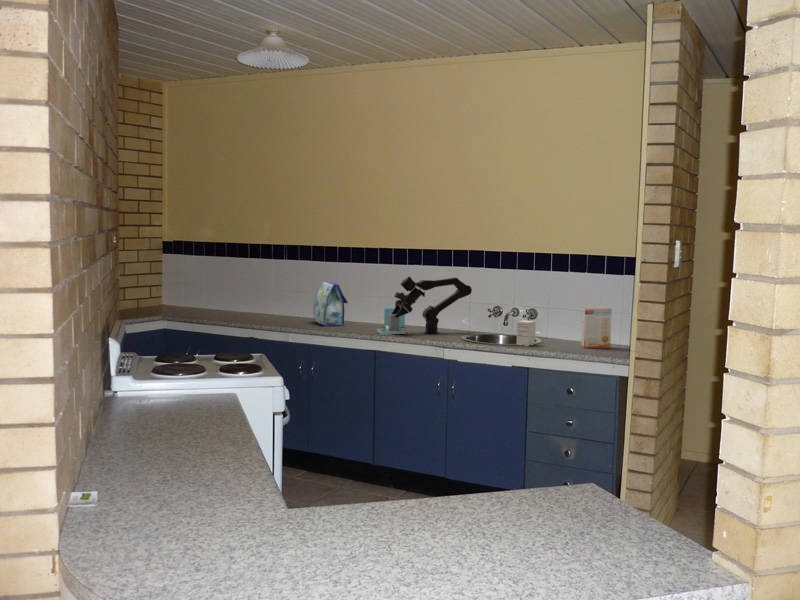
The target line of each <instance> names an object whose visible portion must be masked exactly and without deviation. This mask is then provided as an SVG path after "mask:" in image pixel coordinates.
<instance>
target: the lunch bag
mask: <svg viewBox="0 0 800 600" xmlns="http://www.w3.org/2000/svg"><path fill="white" fill-rule="evenodd" d="M341 289H342V288H341V287H340V285H339V284H338V283H335V282H330V281H329V282H328V281H323V282H322V284H321V285H320V287H319V288H318V290H317V292H316V295H315V299H314V305H313V322H314V323H317V324H320V325H322V326H324V327H329V326H339V325H343V326H344V325H345V304H348V300H347V298H346V297H345V296H344V294H343V291H342V290H341Z"/></svg>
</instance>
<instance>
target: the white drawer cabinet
mask: <svg viewBox="0 0 800 600" xmlns="http://www.w3.org/2000/svg"><path fill="white" fill-rule="evenodd" d="M534 344H536V321H535V320H527V319H524V320H518V321H516V345H517V346H522V345H524V347H530V346H529V345H531V346H534Z"/></svg>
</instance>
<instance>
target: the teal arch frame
mask: <svg viewBox="0 0 800 600" xmlns="http://www.w3.org/2000/svg"><path fill="white" fill-rule="evenodd" d="M394 309H395V306H394V307H393V306H392V307H389V306H388V307H385V308H384V316H383V317H384V322H383V324H384V327H385V328H386V326H389V314H392V312H393V310H394ZM405 317H406V314H405V315H402V316H400V317H399V327H403V328H405V323H406V322H405V321H406V320H405V319H406V318H405Z"/></svg>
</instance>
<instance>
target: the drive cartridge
mask: <svg viewBox="0 0 800 600" xmlns="http://www.w3.org/2000/svg"><path fill="white" fill-rule="evenodd" d="M395 316H396V314H389V331H399V329H400V328H399V317H397V318H396V317H395Z"/></svg>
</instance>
